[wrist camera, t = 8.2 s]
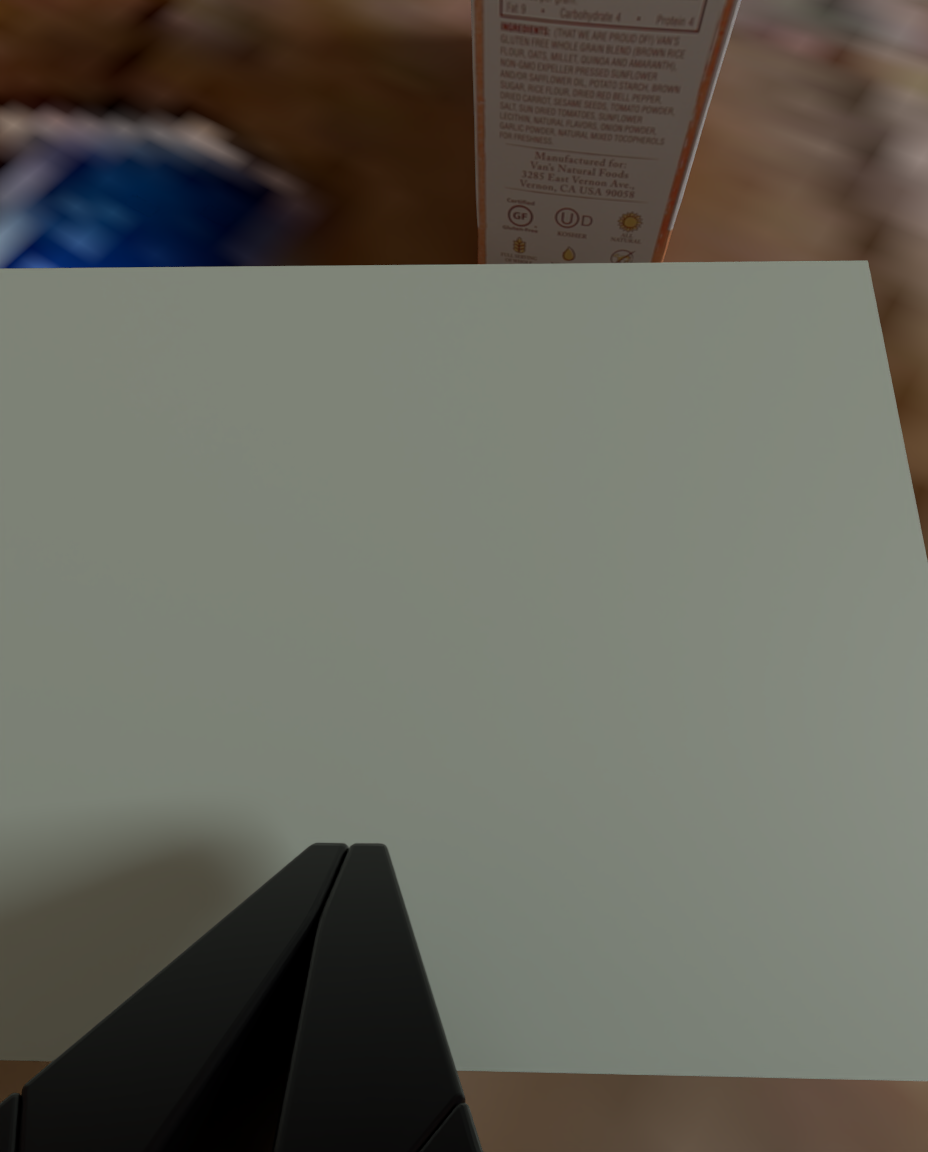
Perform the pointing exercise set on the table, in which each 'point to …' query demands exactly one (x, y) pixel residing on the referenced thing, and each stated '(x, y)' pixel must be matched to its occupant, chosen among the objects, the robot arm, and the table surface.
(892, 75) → the table surface
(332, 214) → the table surface
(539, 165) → the cracker box
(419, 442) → the chest lid
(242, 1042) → the robot arm
